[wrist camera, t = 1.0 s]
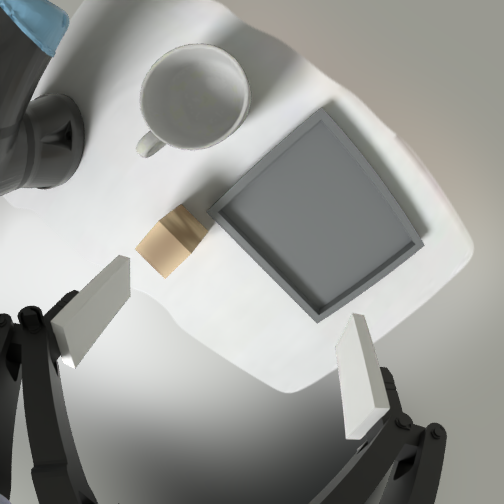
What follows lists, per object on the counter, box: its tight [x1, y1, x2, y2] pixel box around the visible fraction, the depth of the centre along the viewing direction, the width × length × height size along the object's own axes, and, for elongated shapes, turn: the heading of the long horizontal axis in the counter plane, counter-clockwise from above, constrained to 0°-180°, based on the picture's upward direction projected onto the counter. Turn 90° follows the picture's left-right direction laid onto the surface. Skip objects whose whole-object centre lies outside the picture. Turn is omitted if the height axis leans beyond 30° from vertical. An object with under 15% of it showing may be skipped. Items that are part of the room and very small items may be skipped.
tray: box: [207, 107, 425, 323], centre depth 34 cm, size 21×18×2 cm
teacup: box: [136, 44, 251, 158], centre depth 27 cm, size 14×11×8 cm
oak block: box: [135, 204, 208, 279], centre depth 35 cm, size 5×5×7 cm
